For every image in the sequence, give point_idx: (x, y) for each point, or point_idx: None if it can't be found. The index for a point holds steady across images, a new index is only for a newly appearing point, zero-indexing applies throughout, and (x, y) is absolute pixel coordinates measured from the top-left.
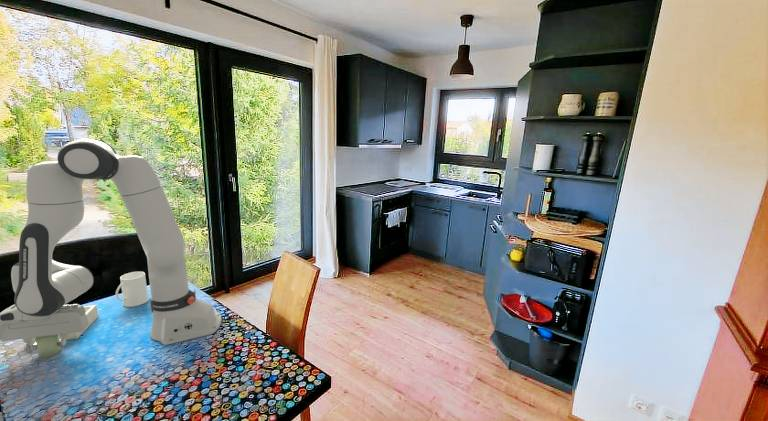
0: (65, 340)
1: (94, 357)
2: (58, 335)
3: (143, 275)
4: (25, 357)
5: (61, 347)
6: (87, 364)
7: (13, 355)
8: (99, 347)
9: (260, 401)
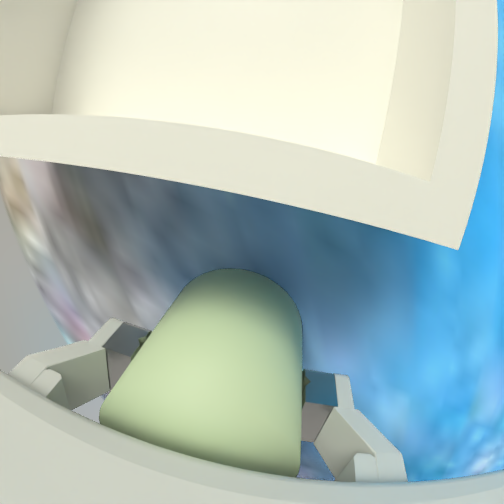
0: (347, 398)
1: (448, 451)
2: (300, 448)
3: None
4: (107, 311)
5: (300, 324)
6: (417, 478)
7: (38, 247)
8: (487, 387)
9: None
